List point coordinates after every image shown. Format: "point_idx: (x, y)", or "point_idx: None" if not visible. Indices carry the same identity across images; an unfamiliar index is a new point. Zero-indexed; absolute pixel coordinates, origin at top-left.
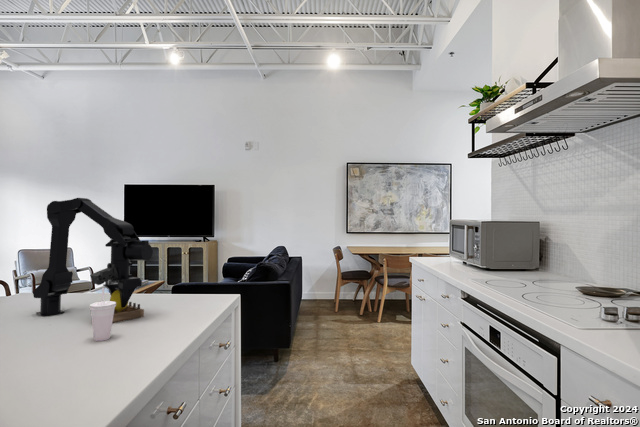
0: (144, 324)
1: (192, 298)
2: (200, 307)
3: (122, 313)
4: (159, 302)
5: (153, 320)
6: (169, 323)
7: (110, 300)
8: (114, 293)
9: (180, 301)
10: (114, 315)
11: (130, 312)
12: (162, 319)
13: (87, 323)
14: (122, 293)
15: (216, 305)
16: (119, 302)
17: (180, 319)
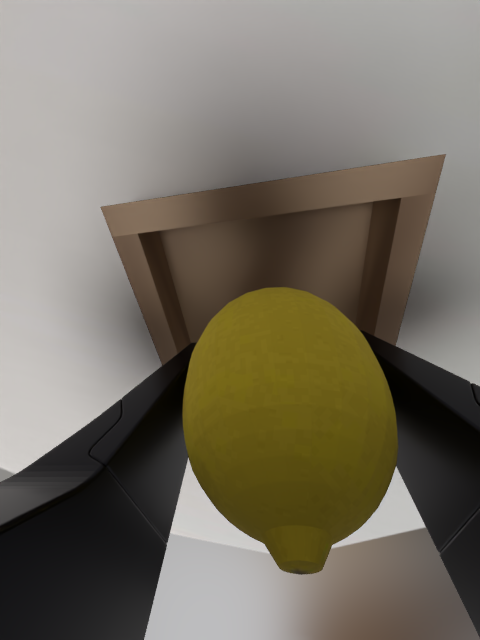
0: (36, 339)
1: (346, 540)
2: (201, 510)
3: (143, 309)
4: (404, 489)
5: (97, 384)
6: (16, 400)
7: (281, 309)
8: (250, 421)
9: None
10: (120, 250)
11: (159, 352)
12: (96, 407)
13: (275, 49)
14: (33, 470)
15: (194, 530)
16: (191, 356)
17: (64, 437)
